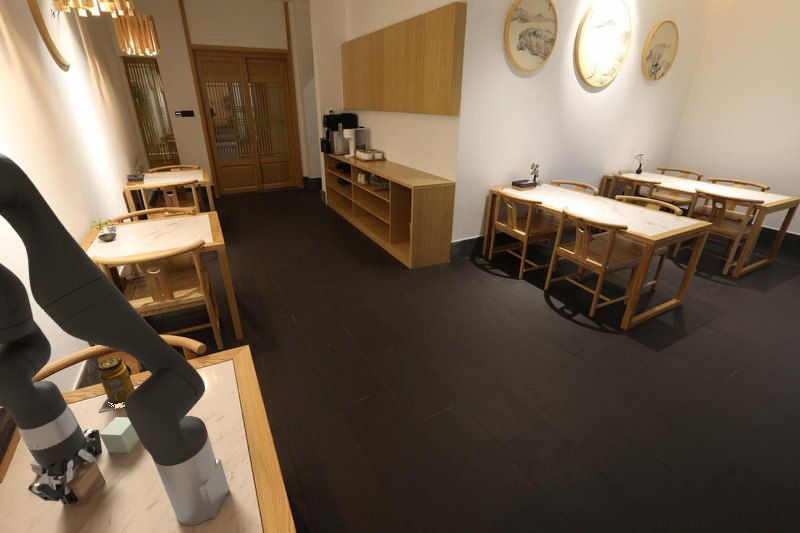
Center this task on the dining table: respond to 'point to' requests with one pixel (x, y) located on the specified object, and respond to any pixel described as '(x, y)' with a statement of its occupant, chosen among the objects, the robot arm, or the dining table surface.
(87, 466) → the walnut block
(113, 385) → the condiment
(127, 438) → the sage block
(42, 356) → the robot arm
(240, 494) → the dining table surface
